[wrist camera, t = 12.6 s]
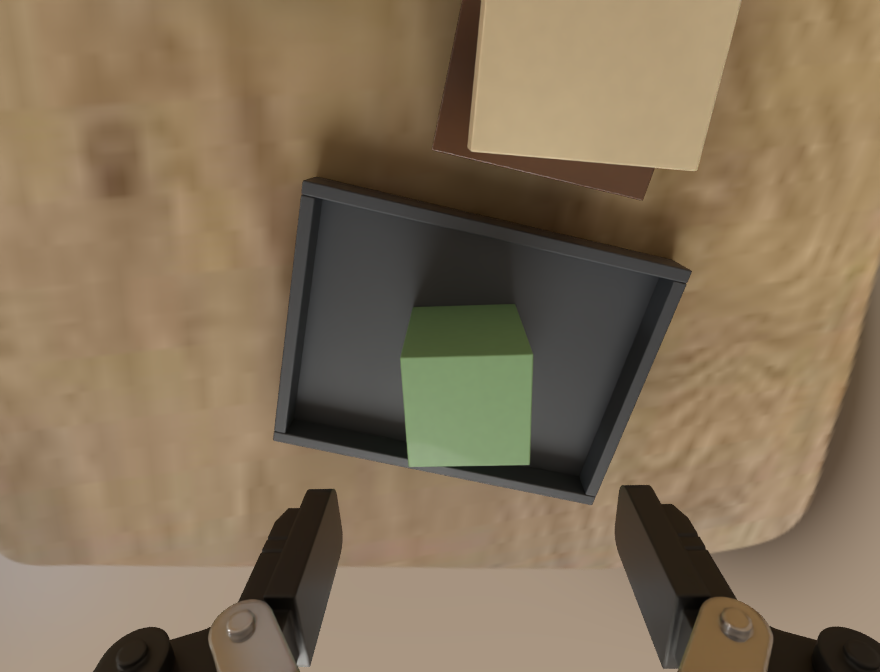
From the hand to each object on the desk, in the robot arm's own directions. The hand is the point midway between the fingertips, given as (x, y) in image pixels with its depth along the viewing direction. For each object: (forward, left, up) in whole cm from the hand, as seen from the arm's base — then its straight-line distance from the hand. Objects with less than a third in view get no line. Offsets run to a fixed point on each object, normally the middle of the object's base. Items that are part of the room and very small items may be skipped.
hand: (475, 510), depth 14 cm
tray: (0, 0, -12) cm, 12 cm away
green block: (0, 0, -12) cm, 12 cm away
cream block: (-13, +1, -8) cm, 15 cm away
